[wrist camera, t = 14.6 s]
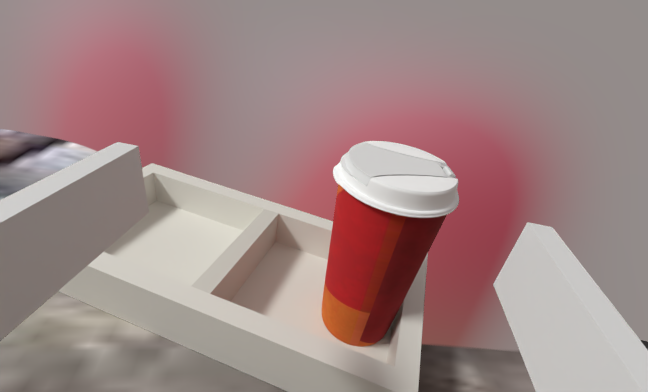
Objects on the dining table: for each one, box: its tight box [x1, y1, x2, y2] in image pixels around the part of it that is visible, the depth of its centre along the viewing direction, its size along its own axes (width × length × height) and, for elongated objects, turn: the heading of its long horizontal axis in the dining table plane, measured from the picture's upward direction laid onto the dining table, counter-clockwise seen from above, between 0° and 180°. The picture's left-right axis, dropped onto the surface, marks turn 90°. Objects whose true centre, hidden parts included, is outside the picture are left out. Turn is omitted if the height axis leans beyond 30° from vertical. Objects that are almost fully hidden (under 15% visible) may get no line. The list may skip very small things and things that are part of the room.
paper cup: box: [322, 141, 459, 347], centre depth 23 cm, size 8×8×14 cm
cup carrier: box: [59, 164, 428, 392], centre depth 28 cm, size 30×14×4 cm, turn 72°
